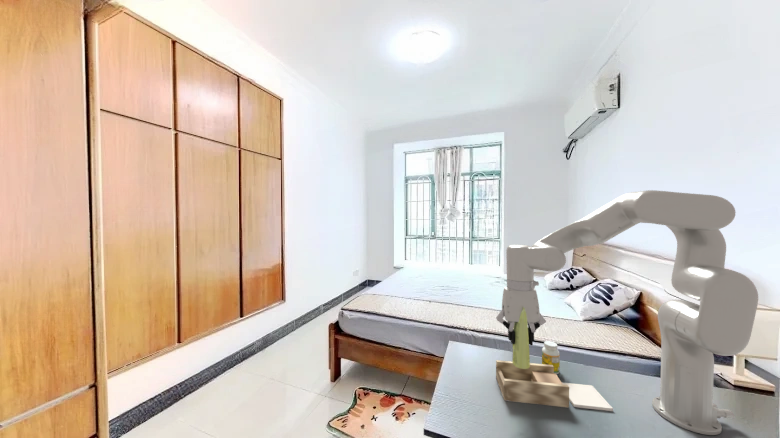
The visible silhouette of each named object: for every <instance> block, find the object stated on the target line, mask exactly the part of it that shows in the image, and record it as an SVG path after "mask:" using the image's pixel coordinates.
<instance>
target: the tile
mask: <svg viewBox="0 0 780 438" xmlns="http://www.w3.org/2000/svg"><path fill="white" fill-rule="evenodd" d="M562 384H564V385H568V386H569V403H570V404H571V405H572V406H573V408H580V409H590V410H599V411H607V412H614V407H612V405H610V404H609V402H608V401H607V400H606V399H605V398H604V397H603V396H602V395H601V393H600V392H599V391H598V390H597V389H596V388H595V386H594V385H591V384H581V383H569V382H562Z"/></svg>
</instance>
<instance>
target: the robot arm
mask: <svg viewBox="0 0 780 438" xmlns="http://www.w3.org/2000/svg"><path fill="white" fill-rule="evenodd" d="M736 213H737V212H736V208H735V206H734V205H733V204H732V203H731V202H730V201H729V200H728V199H726V198H724V197H721V196H718V195H712V194H703V193H702V194H700V193H690V192H689V193H688V192H676V191H667V190H653V189H651V190H650V189H649V190H640V191H631V192H627V193H623V194H622V195H620V196H618V197H616V198H615V199H613V200H612V201H610V202H608V203H605V204H604V205H603V206H601V207H599V208H598V209H596V210H594V211H593V212H591V213H589V214H588V215H586V216H584V217H583V218H580V219H579V220H576V221H574V222H572V223H569V224H568V225H566V226H563V227H561V228H559V229H557V230H554V231H553V232H551V233H549V234H548V235H545V236H544V237H543V238H541V239H540V240H538V241H536V242H535V243H533V244H532V245H531V246H530V245H525V244H510V245H508V246H507V247H506V250H505V251H506V253H505V254H506V256H505V257H506V286H504V287H503V291H502V299H501V301H502V302H501V311H500V312H499V313H498V315H497V316H496V318H495V319H496V320H497V321H498V322H499V323H501V324H502V325H503V326H504V327H505V328H506V329H507V339H508V341H510V342H511V344H512V345H513V344H515V332H514V330H513V328H514V324H515V322H519V318H520V314H521V312H522V310H523V307H524V308H525V311H526V315H527V324H528V336H529V346H533V342H535V333H537V332H536V330H538V329H539V328H540V327H541V326H543V325H544V324H546V323H547V320H546V318H544V316H543V314H541V313H540V302H539V297H538V294H537V290H536V289H535V287H537V286H539V285H540V283H539V281H536V280H535V278H534V277H535V276H534V274H535V273H534V270H539V271H544V272H557V271H560V270H561V269H563V268H564V267H565V266H566V262H567V257H566V254H565V253H568V252H570V251H573V250H575V249H580V248H582V247H583V248H584V247H591V246H596V245H597V246H598V245H600V244H604V243H606V242H608V241H610V240H611V239H613V238H615V237H616V236H619V234H621V233H624V232H625V231H627V230H629V229H631V228H633V227H634V226H636V225H638V224H652V225H653V224H655V225H661V226H666V227H667V228H668V229H669V230H670V231H671V232H672V234H673V235H674V237H675V239H676V254H675V258H674V262H673V263H674V264H673V268H672V274H671V280H670V281H671V286H672V287H673V289H674V290H675V291H677V292H678V293H679V294H681V295H684V296H686V297H688V298H691V299H693V300H696V301H699V304H697V303H695V302H691V301H689V300H685V299H670V300H666V301H665V302H663V303H662V304H661V305H660V307H659V308H658V311H657V321H658V326H659V331H660V338H661V339H660V341H661V351H660V352H661V353H660V380H659V381H660V384H659V386H660V387H659V388H660V389H659V396H656V397H654V398H652V403H651V404H652V407H653V409H654V411H656V412H657V414H658V415H660V416H662V418H664V419H666V420H667V421H669V422H670V423H672V424H675V425H676V426H678V427H680V428H682V429H685V430H687V431H690V432H693V433H696V434H701V435H705V436H717V435H720V434H721V433H722V428H723V427H722V424H721V422H720V421H719V420H718V419H721V418H723V419H724V418H727V419H735V414H734V412H733V411H732V410H731V409H725V408H719V407H718V405H717V404H716V403H714V402H713V401H714V374H715V372H714V371H715V357H714V354H715V355H718V356H723V357H729V356H736V355H738V354H740V353H741V352H743V351H744V350H745V349H746V348H747V346H748V344H749V343H750V340H751V337H752V333H753V328H754V327H753V326H754V324H755V318H756V315H757V309H758V302H759V293H758V290H757V287H756V285H755V284H754V282H753V281H752V280H751V279H750V278H749V277H747V275H745V274H743V273H741V272H738V271H735V270H733V269H729V268H725V266H726V265H725V264H726V256H727V242H726V239H725V237H724V235H723V233H722V232H721V229H723V228H726V227H727V226H729V225H730V224H731V223H732V222H733V221H734V219H735V217H736ZM503 318H504V319H503Z"/></svg>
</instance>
